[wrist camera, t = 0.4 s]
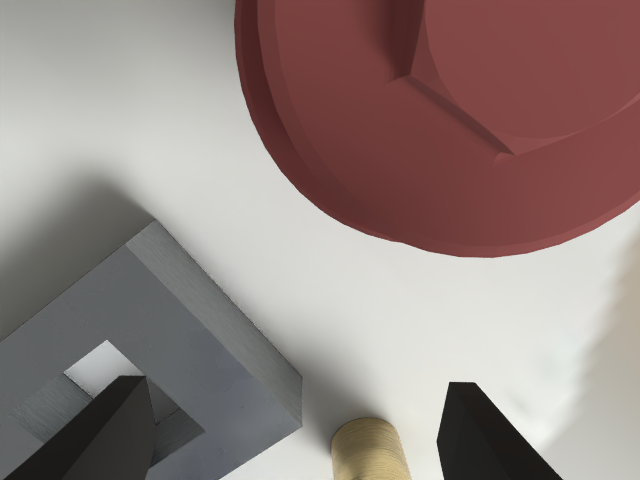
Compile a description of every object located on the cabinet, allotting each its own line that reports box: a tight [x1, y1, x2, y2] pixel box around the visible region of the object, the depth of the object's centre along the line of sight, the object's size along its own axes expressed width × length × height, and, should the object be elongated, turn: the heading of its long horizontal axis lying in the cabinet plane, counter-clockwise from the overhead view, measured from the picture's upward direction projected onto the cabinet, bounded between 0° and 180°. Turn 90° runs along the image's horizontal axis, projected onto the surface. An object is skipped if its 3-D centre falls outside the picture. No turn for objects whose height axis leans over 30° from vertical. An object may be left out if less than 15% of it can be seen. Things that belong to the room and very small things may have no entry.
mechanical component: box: [234, 0, 640, 258], centre depth 11 cm, size 12×10×10 cm
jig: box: [0, 219, 302, 480], centre depth 20 cm, size 13×11×4 cm
